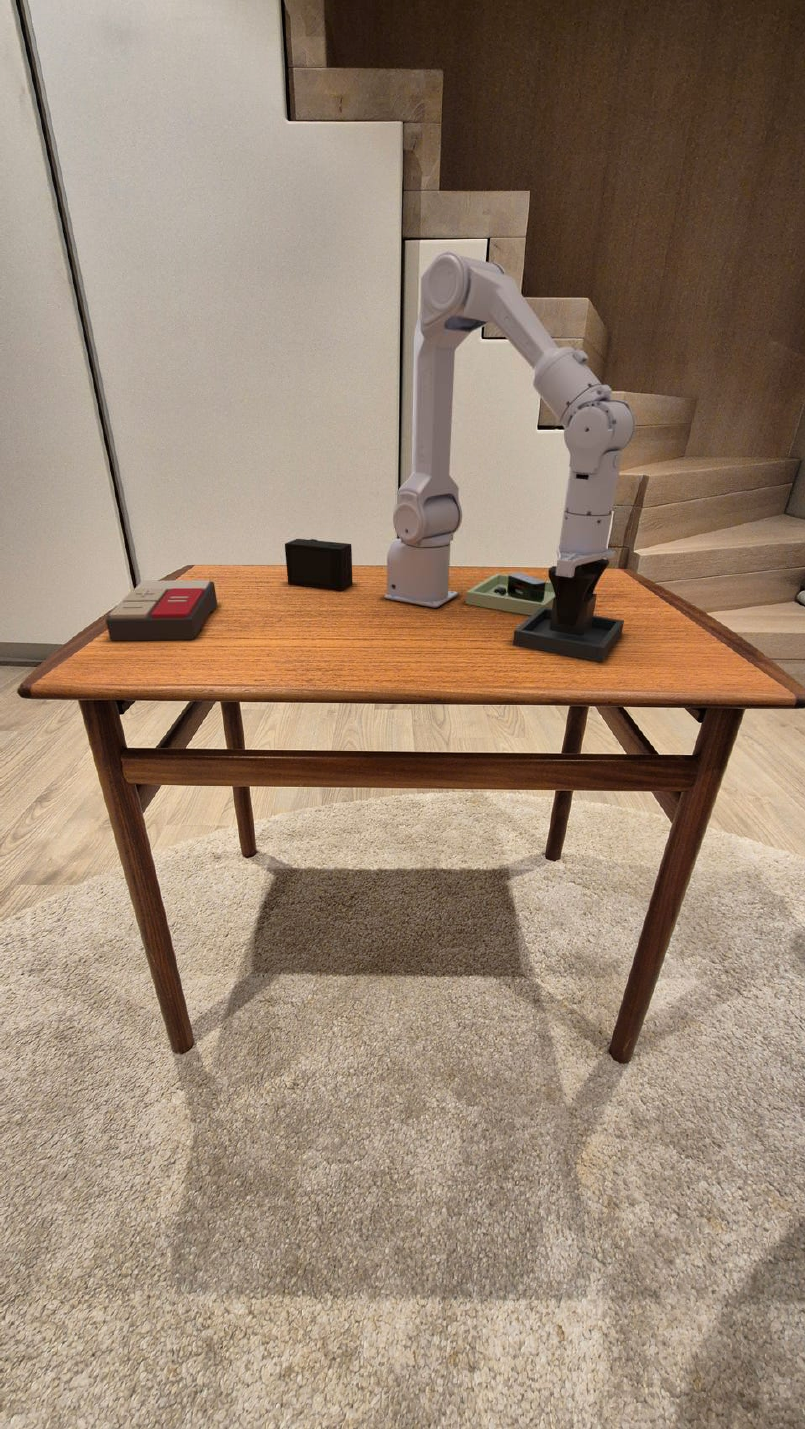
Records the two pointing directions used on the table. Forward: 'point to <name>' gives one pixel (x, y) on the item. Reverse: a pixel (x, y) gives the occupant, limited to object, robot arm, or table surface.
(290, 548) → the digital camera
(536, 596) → the wireless earbuds
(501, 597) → the pale tray
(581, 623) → the charcoal block
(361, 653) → the table surface
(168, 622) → the calculator
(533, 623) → the dark tray
